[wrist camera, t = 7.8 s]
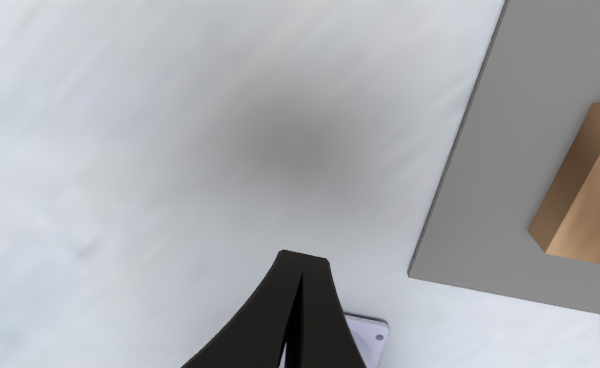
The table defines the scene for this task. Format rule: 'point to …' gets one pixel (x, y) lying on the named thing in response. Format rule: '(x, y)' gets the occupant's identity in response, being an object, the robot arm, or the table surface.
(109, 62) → the table surface
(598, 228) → the walnut slab
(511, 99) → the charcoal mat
